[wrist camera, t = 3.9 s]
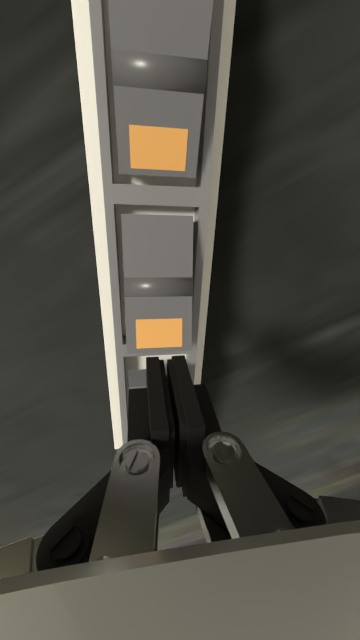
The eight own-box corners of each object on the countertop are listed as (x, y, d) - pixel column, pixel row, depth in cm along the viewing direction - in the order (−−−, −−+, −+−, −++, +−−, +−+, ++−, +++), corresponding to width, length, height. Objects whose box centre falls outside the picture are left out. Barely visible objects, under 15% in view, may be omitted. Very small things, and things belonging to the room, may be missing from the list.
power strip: (237, -213, 12) (284, -399, 8) (189, 417, 29) (197, 453, 25) (57, -262, 11) (14, -502, 7) (116, 423, 28) (113, 461, 24)
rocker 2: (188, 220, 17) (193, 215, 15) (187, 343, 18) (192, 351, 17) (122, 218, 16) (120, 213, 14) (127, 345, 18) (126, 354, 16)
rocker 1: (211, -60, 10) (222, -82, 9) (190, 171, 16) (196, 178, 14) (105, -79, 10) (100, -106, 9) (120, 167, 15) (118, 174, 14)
